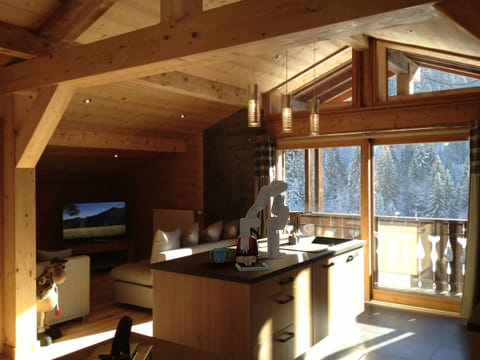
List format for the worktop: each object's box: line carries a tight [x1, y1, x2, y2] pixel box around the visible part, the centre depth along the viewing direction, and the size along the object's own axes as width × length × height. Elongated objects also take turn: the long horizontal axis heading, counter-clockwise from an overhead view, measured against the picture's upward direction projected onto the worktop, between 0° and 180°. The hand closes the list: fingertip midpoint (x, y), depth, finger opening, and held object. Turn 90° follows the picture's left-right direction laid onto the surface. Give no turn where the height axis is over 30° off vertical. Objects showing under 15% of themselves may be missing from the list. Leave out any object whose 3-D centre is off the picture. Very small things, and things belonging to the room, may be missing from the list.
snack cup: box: [209, 247, 232, 264], centre depth 340 cm, size 16×11×10 cm
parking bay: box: [235, 262, 270, 272], centre depth 318 cm, size 20×17×2 cm
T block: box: [235, 255, 257, 266], centre depth 336 cm, size 14×14×4 cm
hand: (245, 259), depth 345 cm, fingers closed
